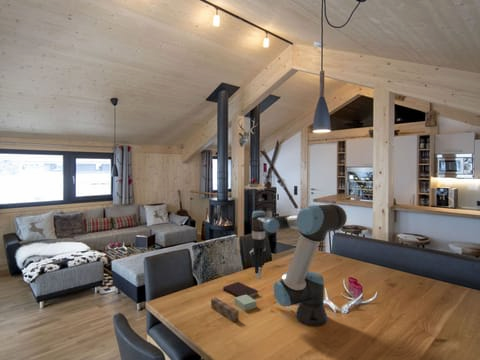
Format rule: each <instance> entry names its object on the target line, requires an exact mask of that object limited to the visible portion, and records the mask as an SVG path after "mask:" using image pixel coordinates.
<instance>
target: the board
mask: <svg viewBox="0 0 480 360" xmlns="http://www.w3.org/2000/svg"><path fill="white" fill-rule="evenodd" d="M210 302H211V303H210V305H211V309H212V310H214V311H215V312H217V313H218V314H220V315H222V316H223V317H225V318H226V319H227V320H229V321H231V322H232V323H236V322H239V321H240V319H239V314H240V312H239V310H238V309H236V308H234V307H233V306H232V305H229V304H228V303H226V302H224V301H222V300H221V299H219V298H218V297H212V298H211V300H210Z"/></svg>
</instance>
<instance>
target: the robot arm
mask: <svg viewBox="0 0 480 360" xmlns="http://www.w3.org/2000/svg"><path fill="white" fill-rule="evenodd" d="M347 217H348V216H347V213H346V211H345V210H344V208H343V207H341V206H339V205H338V204H333V203H331V204H319V205H314V204H312V205H309V206H308V205H307V206H304V207H302V208H301V209H300V210H299V211H298V213H297V214H290V215H289V214H288V215H281V216H279V215H278V216H266V211H264V210H254V211H252V214H251V245H252V248H251V250H249V251H248V254H249V255H250V262H251V263H250V264H251V266H252V268H254V273H255V279H257V280H261V279H262V276H261V275H262V268H264V265H265V263H266V257H267V252H268V250H269V249H268V248H266V246H265V245H266V232H267V233H270V234H272V233H273V234H274V233H276V232H279V231H282V230H283V231H284V230H294V229H298V233H299V234H300V236H299V238H298V240H297V244H296V246H295V250H294V251H293V255H292V258H291V261H290V263H289V266H288V269H287V271H285V272H284V273H283V274H282V276H281V279H280V281H279V280H277V281H276V282H274V284H273V294H274V297H275V299H276V300H277V303H278V304H279V305H280V306H281V307H291V306H294V305H297V304H299V305H298V307H297V310H296V313H295V315H296V319H297V321H298V322H299V323H301V324H304V325H305V326H310V327H311V326H312V327H320V326H323V325H326V323H327V322H328V314H327V311H326V308H325V305H324V298H325V297H324V295H325V291H324V290H325V282H324V281H325V279H324V277H323V275H322V274H321V273H319V272H314V271H309V270H310V267H311V265H312V262H313V260H314V257H315V255H316V251H317V249H318V248H319V244H320V243H322V242H324V241H325V240H326V236H327V234H328V233H331V232H334V231H339V230H341V229H343V227H344V226H345V225H346V223H347V219H348V218H347Z"/></svg>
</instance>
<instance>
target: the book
mask: <svg viewBox="0 0 480 360" xmlns="http://www.w3.org/2000/svg"><path fill="white" fill-rule="evenodd" d="M222 290H223V291H224V292H226V293H228V294H230V295H232V297H234V298H235V297H239V296H243V295H248V296H249V297H251V298H252V299H253V298H254V297H255V298H256V297H257V296H258V295H259V290H257V289H256V288H253V287H250V286H248V285H246V284H244V283H241V282H239V281H237V282H234V283H231V284H228V285H225V286H223V289H222Z"/></svg>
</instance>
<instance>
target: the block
mask: <svg viewBox="0 0 480 360" xmlns="http://www.w3.org/2000/svg"><path fill="white" fill-rule="evenodd" d="M233 300H234V301H233V302H234V305H235V306H236V307H238V308H239V309H240V310H242V311H243V312H247V311H250V310H253V309H256V308H257V300H255V299H254V298H253V297H252V298H251V297H249V296H248V295H243V296H239V297H235V296H234V299H233Z"/></svg>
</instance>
